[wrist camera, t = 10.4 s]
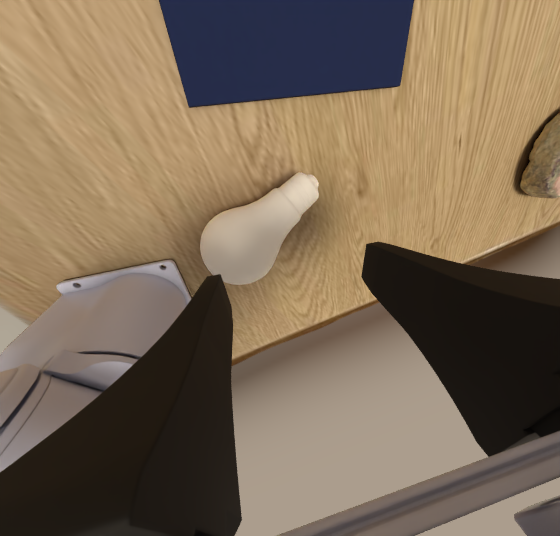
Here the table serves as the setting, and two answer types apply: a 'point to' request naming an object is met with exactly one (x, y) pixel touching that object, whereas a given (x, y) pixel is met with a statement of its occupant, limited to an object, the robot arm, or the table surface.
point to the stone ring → (544, 163)
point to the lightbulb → (255, 231)
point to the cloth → (285, 47)
